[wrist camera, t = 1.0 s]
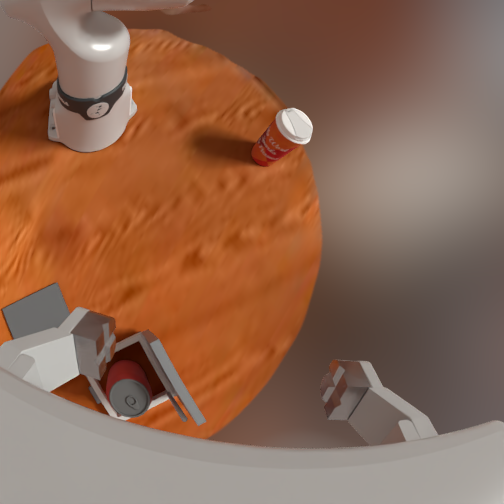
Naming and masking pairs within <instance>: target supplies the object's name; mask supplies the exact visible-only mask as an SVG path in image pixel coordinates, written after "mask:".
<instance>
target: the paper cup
mask: <svg viewBox="0 0 504 504" xmlns="http://www.w3.org/2000/svg"><path fill="white" fill-rule="evenodd" d="M312 130H313V126H312V123H311V121H310V119H309V118H308V117H307V116H306V115H305V114H304V113H303V112H302V111H300V110H298V109H295V108H290V109H284V110H281V111H279V112H278V114H277V116H276V118H275V120H274V121H273V122H272V123H271V125H270V126H269V127H268V128H267V130H266V131H265V132H264V133H263V135H262V136H261V137H260V138H259V140H258V141H257V142H256V144H255V145H254V146H253V148H252V150H251V155H252V158H253V159H254V161H255V162H256V163H257V164H259V165H261V166H270V165H272V164H273V163H275V162H276V161H278V160H279V159H280V158H282V157H283V156H285V155H286V154H288V153H289V152H291V151H292V150H293V149H295V148H296V147H298V146H299V145H301V144H306V143H308V142H309V141H310V138H311V134H312Z"/></svg>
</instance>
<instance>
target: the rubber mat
mask: <svg viewBox="0 0 504 504" xmlns="http://www.w3.org/2000/svg"><path fill="white" fill-rule="evenodd" d="M2 310H3V313H4V315H5V318H6V321H7V323H8V326H9V328H10V331H11V333H12V336H13V338H14V339H17V338H21V337H24V336H27V335H31V334H34V333H37V332H41V331H44V330H47V329H51V328H54V327H55V328H58V327H59V326H60V325H61V324H62V323H63V322H64V321H65V320H66V319H67V317H68V316H69V315H70V312H69V310H68V308H67V305H66V303H65V301H64V298H63V296H62V293H61V291H60V288H59V285H58V283H55V284H52V285H50V286H48V287H46V288H44V289H42V290H40V291H38V292H36V293H34V294H32V295H30V296H28V297H26V298H24V299H22V300H19V301H17V302H15V303H13V304H12V305H10V306H8V307H6V308H4V309H2Z"/></svg>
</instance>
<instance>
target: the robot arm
mask: <svg viewBox="0 0 504 504" xmlns="http://www.w3.org/2000/svg"><path fill="white" fill-rule="evenodd" d="M192 1H193V0H0V5H1V7H2V9H3V11H4V12H5V14H6V15H7V16H8V17H10V18H13V19H17V20H20V21H22V22H25V23H27V24H28V25H30V26H32V27H33V28H35V29H36V30H37V31H38V32H39V33H41V34H42V35H43V36H44V38H45V39H46V40H47V41H48V42H49V44H50V45H51V47H52V49H53V51H54V55H55V59H56V64H57V70H58V78H57V80H56V81H55V82H54V83H53V86H52V88H51V89H50V90H49V97H50V100H51V101H50V111H49V123H48V138H49V139H50V140H52V141H57V142H62V143H63V144H65V145H66V146H68V147H69V148H71V149H73V150H76V151H80V152H93V151H98V150H101V149H103V148H106V147H108V146H109V145H111V144H112V143H114V142H115V141H116V140H117V139H118V138H119V137H120V136H121V135H122V133H123V132H124V130H125V127H126V125H127V122H128V121H129V119H130V118H131V117H132V116H133V115H134V114H135V113H136V111H137V106H136V104H135V103H134V101H133V100H132V98H131V97H132V87H130V86H129V84H128V83H127V66H126V62H127V56H128V51H129V46H130V36H129V33H128V31H127V29H126V27H125V26H124V24H123V23H122V22H121V21H120V20H118V19H117V18H115V17H113V16H111V15H109V14H106V13H104V12H102V11H106V10H145V11H147V10H156V9H167V8H178V7H184V6H186V5H187V4H189V3H191V2H192ZM53 128H55V129H54V130H52V129H53ZM115 328H116V324H115V319H114V318H113V317H110V316H106V315H103V314H100V313H97V312H94V311H91V310H88V309H85V308H82V307H77V308H76V309H75V310H74V311H73V312H72V313H71V314H70V315H69V316H68V317H67V319H66V320H65V321H64V322H63V323H62V324H61V325H60V326H59V327H58V328H55V327H54V328H51V329H47V330H44V331H41V332H37V333H34V334H31V335H27V336H24V337H21V338H17V339H14V340H11V341H7V342H4V343H3V344H2V345H1V346H0V504H504V423H503V422H500V421H497V420H495V421H490V422H487V423H484V424H481V425H477V426H474V427H471V428H467V429H463V430H459V431H456V432H451V433H447V434H443V435H438V434H437V433H436V431H435V429H434V427H433V425H432V424H431V422H430V420H429V418H428V417H427V416H426V415H424V414H423V413H421V412H420V411H419V410H417V409H416V408H414V407H413V406H411V405H410V404H409V403H407V402H406V401H404V400H403V399H402V398H400V397H399V396H397V395H396V394H394V393H393V392H391V391H390V390H389V389H387V388H383V386H382V384H381V382H380V380H379V378H378V376H377V374H376V372H375V371H374V369H373V367H372V365H371V363H369V362H368V361H367V362H366V361H344V360H333V361H332V362H331V364H330V366H329V369H330V373H328V374H327V375H325V376H324V378H323V380H322V383H321V389H320V390H321V397H322V399H323V400H324V401H325V402H326V405H325V407H324V408H325V411H326V415H327V418H328V420H329V419H331V420H348V422H349V423H350V424H351V426H353V428H355V430H357V432H358V433H359V434H360V435H361V436H362V437H363V438H364V439H365V440H366V441H367V442H368V443H369V444H370V446H363V447H349V448H321V449H320V448H315V449H314V448H307V449H306V448H278V447H263V446H252V445H242V444H233V443H225V442H219V441H212V440H206V439H200V438H194V437H189V436H184V435H179V434H175V433H170V432H166V431H161V430H157V429H153V428H149V427H146V426H142V425H138V424H135V423H131V422H128V421H125V420H121V419H118V418H115V417H112V416H109V415H106V414H103V413H100V412H97V411H94V410H92V409H89V408H86V407H84V406H81V405H78V404H76V403H73V402H71V401H69V400H66V399H64V398H61V397H59V396H57V395H55V394H52V393H50V391H52V390H54V389H55V388H57V387H59V386H61V385H62V384H64V383H66V382H68V381H69V380H71V379H73V378H75V377H76V376H78V375H79V374H82V375H85V376H88V377H91V378H95V379H98V380H101V378H102V376H103V374H104V372H105V370H106V363H107V362H109V361H111V359H112V357H113V355H114V352H115V348H116V337H115V335H114V334H113V331H114V330H115Z"/></svg>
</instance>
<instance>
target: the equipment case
mask: <svg viewBox="0 0 504 504" xmlns="http://www.w3.org/2000/svg"><path fill="white" fill-rule="evenodd" d="M137 341H139V342H140V344H141V346H142V347H143V349H144V351H145V353H146V355H147V357H148V359H149V361H150V362H151V364H152V366H153V368H154V370H155V371H156V373H157V375H158V377H159V378H160V380H161V382H162V383H163V385H164V387H165V389H166V390H165V391H163V392H161V393H159V394H157V395H155V396H153V397H152V402H151V404H150V406H149V408H148V409H150V408H152V407H154V406H156V405H158V404H160V403H162V402H164V401H166V400H168V399H170V401H171V403H172V404H173V406H174V408H175V409H176V411H177V413H178V414H179V416H180V417H181V419H182V421H184V422H185V421H187V417H186V416H185V414H184V413H183V411H182V410H181V408H180V407H179V405H178V404H177V402H176V401H175V399H174V398H173V397H174V396H177V397H178V398H179V400H180V401H181V403H182V404H183V406H184V407H185V408H186V410H187V411H188V413H189V414H190V415H191V417H192V418H193V419H194V421H195V422H196V423H197V425H198V426H199V425H201V424H202V423H204V422H206V420H205V418H204V417H203V415H202V414H201V412H200V410H199V409H198V407H197V406H196V404H195V402H194V401H193V399H192V397H191V396H190V394H189V392H188V391H187V389H186V387H185V386H184V384H183V382H182V381H181V379H180V377H179V375H178V374H177V372H176V370H175V368H174V366H173V365H172V363H171V361H170V359H169V357H168V355H167V354H166V352H165V350H164V348H163V346H162V344H161V342H160V340H159V339H158V338H157V337H156V336H155V335H154V334H153V333H151V332H150V331H149V330H146V331H143V332H139V333H137V334H134V335H132V336H130V337H128V338H126V339H124V340H122V341H120V342H118V343H116V348H115V352H117V351H119V350H121V349H123V348H125V347H127V346H129V345H131V344H133V343H135V342H137ZM86 377H87V379H88V380H89V382H90V384H91V386H89V390H90V392H91V394H92V395H93V397H94V398H95V400H96V402H97V403H98V404H99V403H101V402H102V404H103V405H104V407H105V408H106V410H107V412H108V413H109V415H110V416H112V417H115V418H118V419H121V420H127V419H129V418H130V417H124V416H122V415H120V414H118V413H117V412H116V411H115V410H114V409H113V408H112V406H111V405H110V403H109V402H108V400H107V396H106V394H105V393H104V391H103V389H102V388H101V386H100V384H99V382H98V381H97V379H95V378H91V377H88V376H86Z"/></svg>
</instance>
